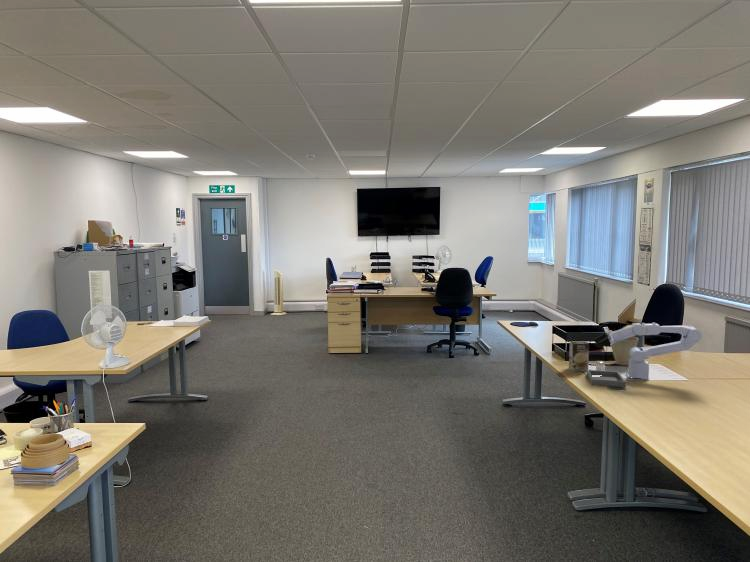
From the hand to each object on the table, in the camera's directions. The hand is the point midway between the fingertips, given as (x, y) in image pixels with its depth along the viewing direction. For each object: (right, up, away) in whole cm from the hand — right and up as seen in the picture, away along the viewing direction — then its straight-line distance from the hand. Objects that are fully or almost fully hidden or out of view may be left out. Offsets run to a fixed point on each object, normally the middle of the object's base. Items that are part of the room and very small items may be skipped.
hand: (595, 343), depth 264 cm
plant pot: (+26, -15, +20) cm, 36 cm away
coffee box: (-5, -17, +10) cm, 20 cm away
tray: (0, -19, -11) cm, 22 cm away
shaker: (+5, -17, +4) cm, 18 cm away
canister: (+50, -11, +54) cm, 74 cm away
